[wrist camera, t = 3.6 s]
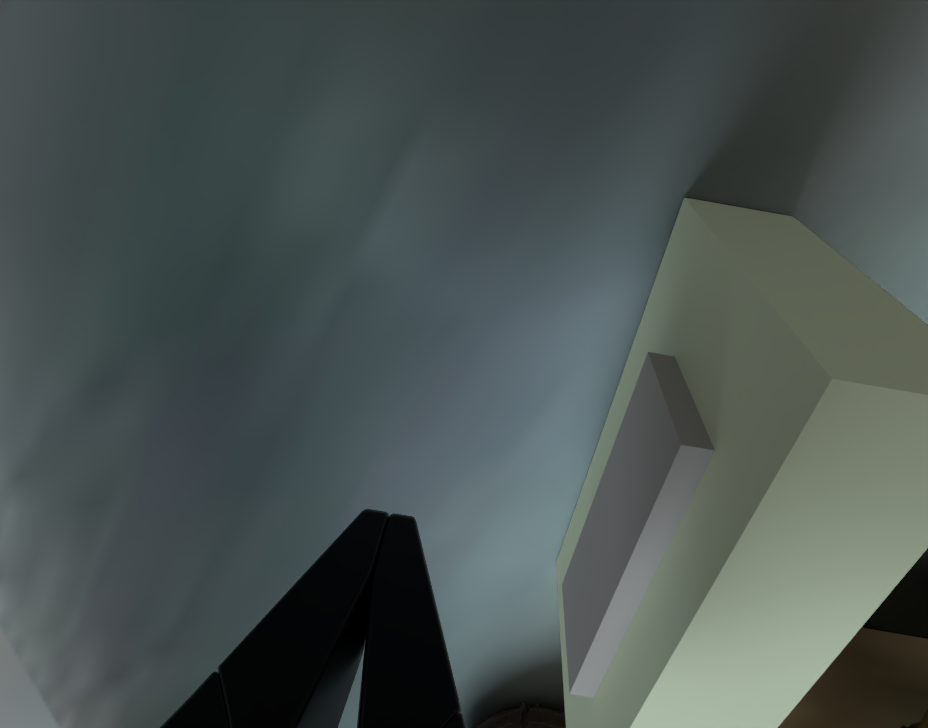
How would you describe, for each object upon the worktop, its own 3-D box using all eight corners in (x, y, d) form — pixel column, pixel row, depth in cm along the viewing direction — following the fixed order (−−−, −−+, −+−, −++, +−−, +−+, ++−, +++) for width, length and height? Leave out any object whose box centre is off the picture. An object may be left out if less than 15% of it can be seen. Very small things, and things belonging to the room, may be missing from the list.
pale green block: (792, 216, 11) (1040, 413, 6) (629, 575, 16) (679, 844, 11) (659, 193, 11) (784, 370, 6) (539, 560, 16) (548, 823, 11)
